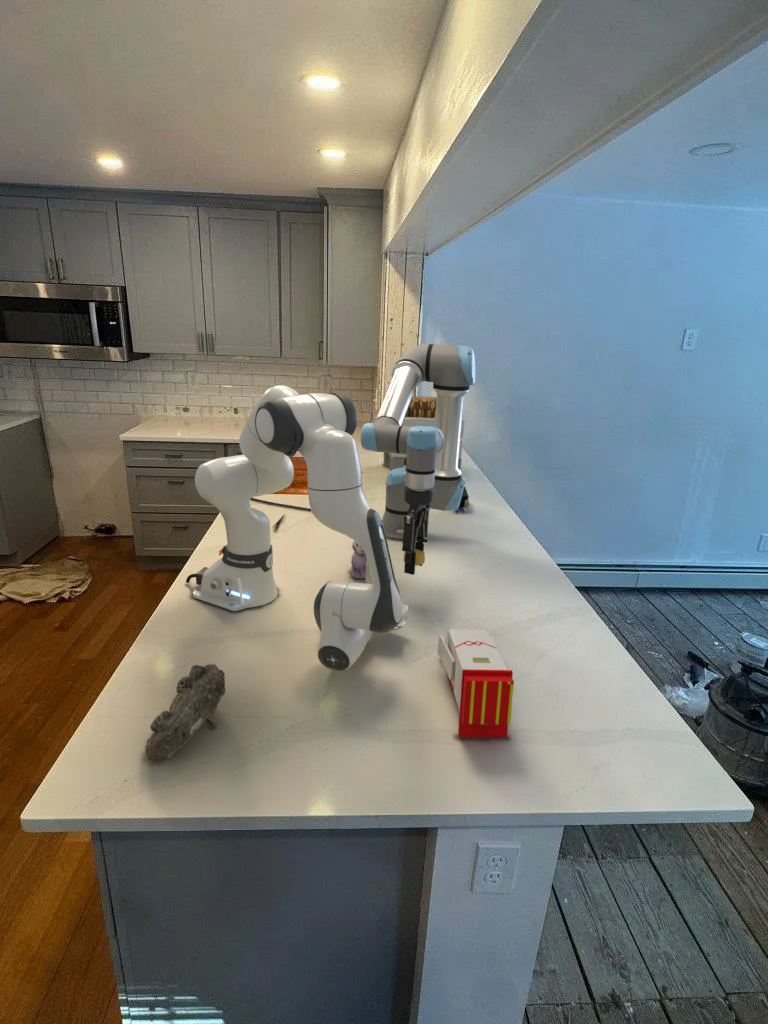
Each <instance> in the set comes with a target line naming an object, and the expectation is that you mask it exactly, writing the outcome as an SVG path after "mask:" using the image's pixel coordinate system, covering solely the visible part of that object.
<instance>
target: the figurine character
mask: <svg viewBox="0 0 768 1024" xmlns="http://www.w3.org/2000/svg"><path fill="white" fill-rule="evenodd" d="M469 498H470V496H469V494H468V491H467V488H466V486H464V490H463V494H462V498H461V501H460V505H459V507H458V509H457V510H455V511H454V512H456V513H458V510H461V511H462V513H465V509H469V506H470V500H469Z"/></svg>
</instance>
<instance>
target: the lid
mask: <svg viewBox="0 0 768 1024" xmlns="http://www.w3.org/2000/svg"><path fill="white" fill-rule="evenodd" d="M415 551H416V560H415V566H418V565H422V564H423V565H424V564H425V562H426V561H425V559H426V553H425V551H424V552H423V551H421V550H418V549H415ZM403 562H404V563H405V551H403ZM423 565H422V566H423Z"/></svg>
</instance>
